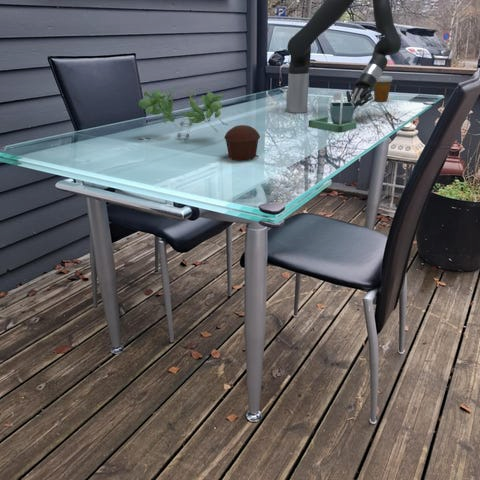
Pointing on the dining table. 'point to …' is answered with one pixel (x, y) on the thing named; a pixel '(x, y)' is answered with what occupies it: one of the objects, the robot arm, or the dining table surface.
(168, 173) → the dining table surface
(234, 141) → the muffin
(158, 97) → the plant cuttings
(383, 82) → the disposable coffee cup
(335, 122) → the flower pot
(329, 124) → the green u-shaped frame
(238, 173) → the dining table surface
